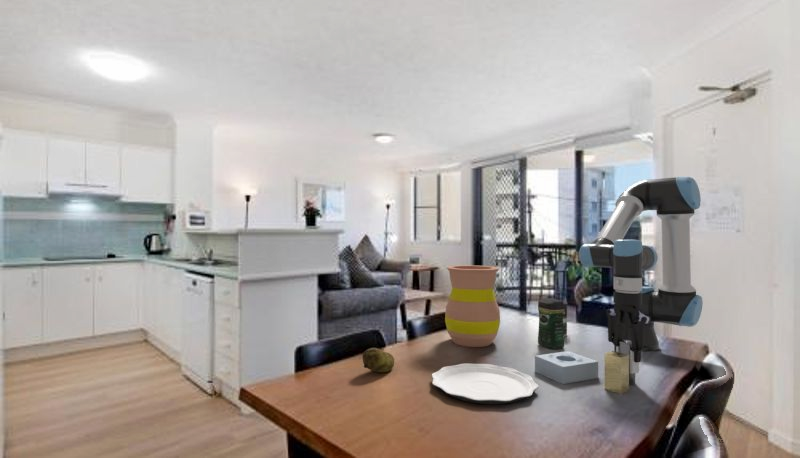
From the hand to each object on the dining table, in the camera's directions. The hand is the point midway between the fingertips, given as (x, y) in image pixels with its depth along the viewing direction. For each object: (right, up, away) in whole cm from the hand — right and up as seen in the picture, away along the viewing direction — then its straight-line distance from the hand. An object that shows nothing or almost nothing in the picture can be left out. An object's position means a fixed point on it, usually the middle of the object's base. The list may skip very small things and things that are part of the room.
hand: (627, 369), depth 124 cm
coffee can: (0, -4, +59) cm, 59 cm away
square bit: (-6, -4, -6) cm, 9 cm away
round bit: (0, -4, 0) cm, 4 cm away
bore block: (-16, -4, +6) cm, 17 cm away
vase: (-38, -4, +45) cm, 59 cm away
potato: (-74, -3, +8) cm, 74 cm away
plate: (-44, -4, -4) cm, 44 cm away
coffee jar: (-9, -4, +39) cm, 40 cm away
